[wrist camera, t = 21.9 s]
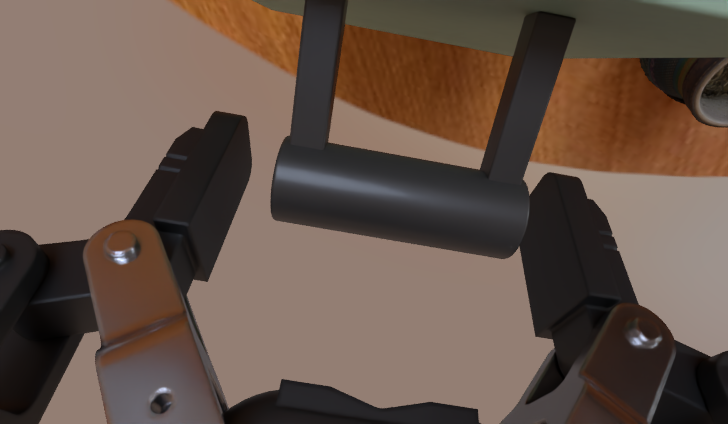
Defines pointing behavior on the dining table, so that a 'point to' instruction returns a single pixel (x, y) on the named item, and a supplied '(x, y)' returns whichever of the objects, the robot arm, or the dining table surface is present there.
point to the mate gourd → (693, 85)
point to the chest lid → (511, 125)
